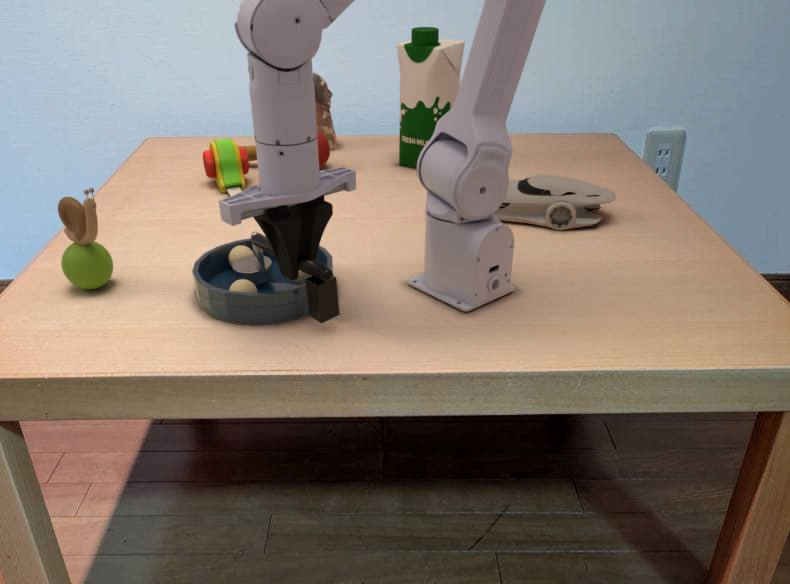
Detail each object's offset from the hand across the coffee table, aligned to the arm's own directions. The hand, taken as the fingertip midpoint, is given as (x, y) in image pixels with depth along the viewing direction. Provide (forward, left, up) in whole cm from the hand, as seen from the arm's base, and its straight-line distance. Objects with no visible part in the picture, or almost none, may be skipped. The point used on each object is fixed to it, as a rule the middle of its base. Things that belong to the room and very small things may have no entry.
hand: (297, 273), depth 75 cm
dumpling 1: (+13, -1, -3) cm, 13 cm away
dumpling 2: (+5, +4, -3) cm, 7 cm away
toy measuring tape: (+39, -15, -5) cm, 42 cm away
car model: (+4, -40, -5) cm, 41 cm away
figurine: (+49, -38, -5) cm, 63 cm away
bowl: (+7, 0, -5) cm, 9 cm away
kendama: (+44, -26, -5) cm, 52 cm away
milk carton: (+29, -46, -5) cm, 55 cm away
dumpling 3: (+5, -4, -3) cm, 7 cm away
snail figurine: (+21, +14, -5) cm, 26 cm away
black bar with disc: (+3, 0, -3) cm, 4 cm away
